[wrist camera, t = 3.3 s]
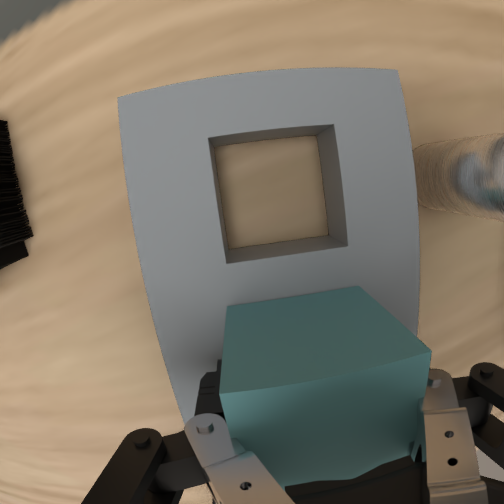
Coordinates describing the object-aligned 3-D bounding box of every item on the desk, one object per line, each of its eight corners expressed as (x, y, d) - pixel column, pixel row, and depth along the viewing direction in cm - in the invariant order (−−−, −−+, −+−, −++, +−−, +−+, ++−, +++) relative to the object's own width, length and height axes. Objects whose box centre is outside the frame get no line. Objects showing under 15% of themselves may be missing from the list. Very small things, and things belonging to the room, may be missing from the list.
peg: (451, 144, 15) (592, 133, 5) (457, 205, 16) (597, 233, 6) (401, 144, 15) (551, 121, 5) (408, 211, 16) (557, 246, 6)
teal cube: (358, 285, 13) (431, 350, 7) (358, 390, 14) (405, 475, 8) (226, 306, 13) (219, 394, 7) (246, 410, 14) (251, 509, 8)
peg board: (372, 86, 14) (423, 52, 9) (389, 365, 18) (430, 416, 12) (138, 112, 14) (94, 81, 9) (193, 398, 17) (181, 463, 12)
